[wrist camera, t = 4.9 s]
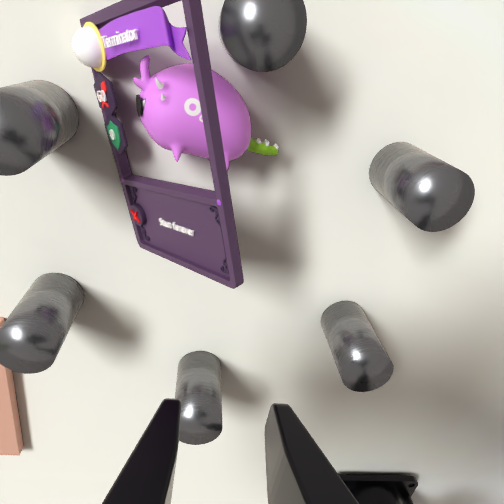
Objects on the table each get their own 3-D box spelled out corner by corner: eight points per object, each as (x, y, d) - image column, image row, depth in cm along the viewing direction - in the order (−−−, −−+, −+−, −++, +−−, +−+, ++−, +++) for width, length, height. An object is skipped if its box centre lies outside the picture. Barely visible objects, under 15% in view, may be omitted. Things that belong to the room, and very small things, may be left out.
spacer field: (471, 37, 15) (550, 37, 12) (335, 389, 24) (356, 449, 20) (-7, -71, 12) (-94, -115, 9) (40, 373, 21) (6, 439, 18)
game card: (124, 252, 17) (55, 21, 13) (213, 214, 20) (178, 17, 17) (220, 300, 13) (157, -29, 9) (316, 242, 16) (301, -21, 12)
